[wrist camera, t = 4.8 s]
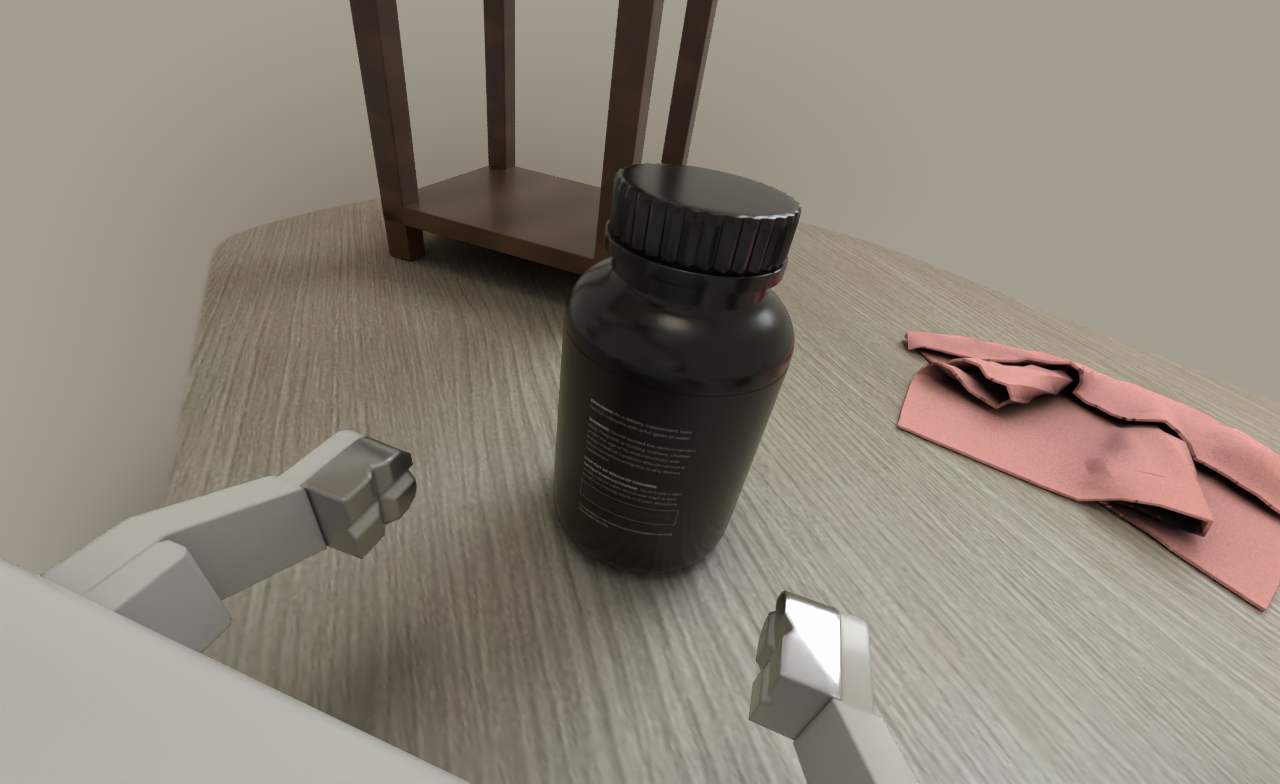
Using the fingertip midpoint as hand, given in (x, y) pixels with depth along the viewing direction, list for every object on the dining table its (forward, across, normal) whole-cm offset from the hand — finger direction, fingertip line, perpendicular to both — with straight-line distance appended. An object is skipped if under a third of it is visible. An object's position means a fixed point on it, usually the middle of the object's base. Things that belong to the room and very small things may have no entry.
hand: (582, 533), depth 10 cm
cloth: (+23, -21, +7) cm, 32 cm away
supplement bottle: (+7, 0, +7) cm, 10 cm away
